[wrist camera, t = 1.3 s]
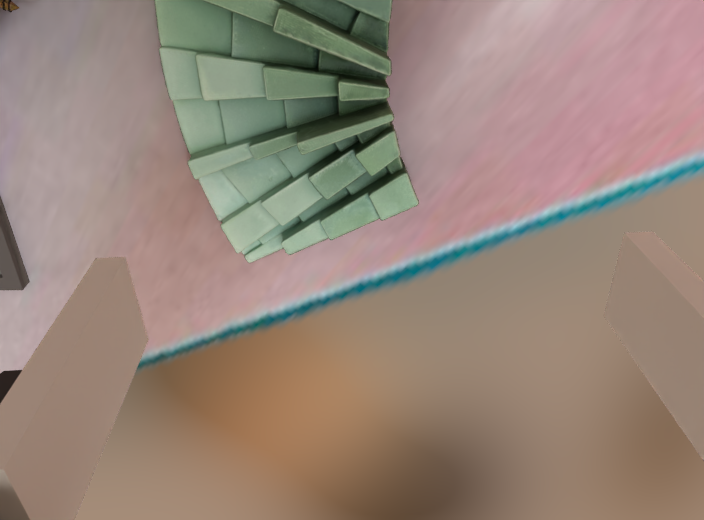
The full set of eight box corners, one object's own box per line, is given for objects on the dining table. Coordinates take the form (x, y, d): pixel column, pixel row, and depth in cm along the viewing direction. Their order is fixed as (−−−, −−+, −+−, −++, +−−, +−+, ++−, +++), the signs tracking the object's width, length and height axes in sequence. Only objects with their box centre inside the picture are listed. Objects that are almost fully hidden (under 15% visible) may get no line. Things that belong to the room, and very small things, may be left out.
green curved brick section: (470, 159, 36) (489, 191, 32) (249, 257, 40) (240, 297, 35) (330, -204, 27) (330, -224, 22) (52, -35, 30) (8, -26, 26)
